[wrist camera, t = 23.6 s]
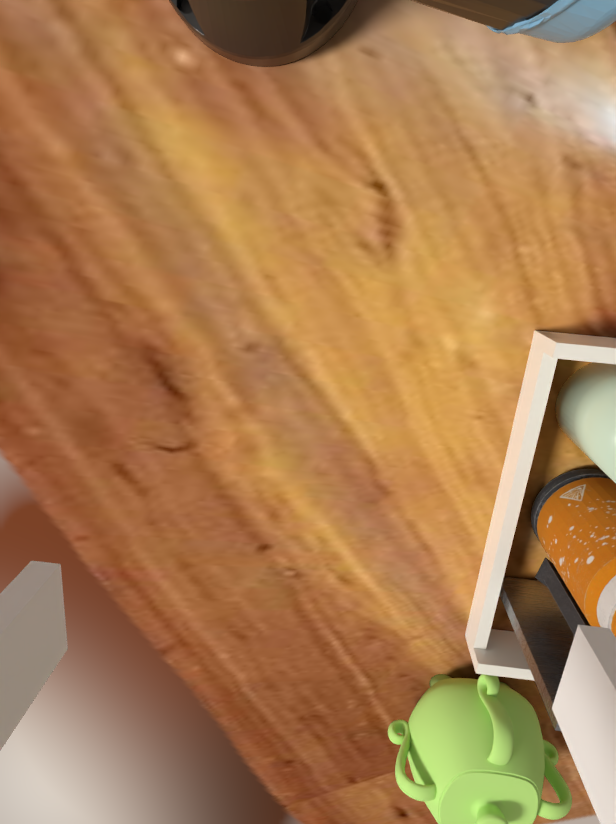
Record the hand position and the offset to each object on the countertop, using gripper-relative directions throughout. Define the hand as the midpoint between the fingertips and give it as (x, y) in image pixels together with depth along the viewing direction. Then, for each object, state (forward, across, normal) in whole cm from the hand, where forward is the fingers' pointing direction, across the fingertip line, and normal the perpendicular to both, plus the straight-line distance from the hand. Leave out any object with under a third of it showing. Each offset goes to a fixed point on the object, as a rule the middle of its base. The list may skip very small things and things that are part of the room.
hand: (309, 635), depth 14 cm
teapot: (+35, +18, -40) cm, 56 cm away
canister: (+35, +23, -14) cm, 44 cm away
